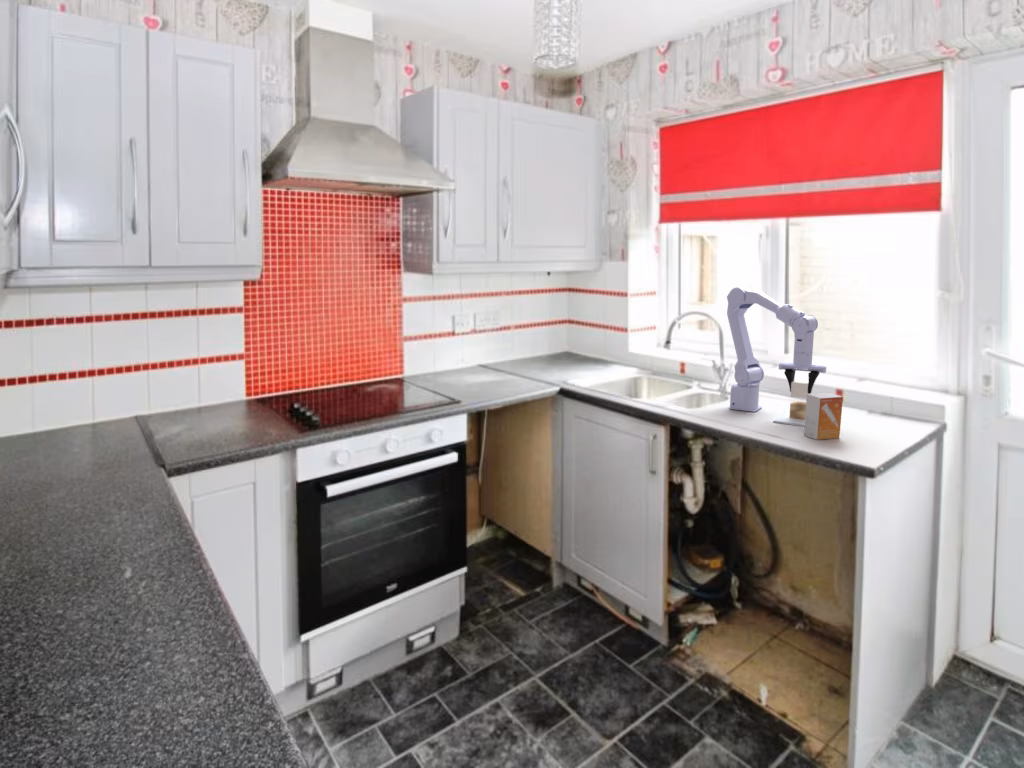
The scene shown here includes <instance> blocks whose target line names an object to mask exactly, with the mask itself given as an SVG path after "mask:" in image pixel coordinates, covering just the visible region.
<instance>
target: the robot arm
mask: <svg viewBox="0 0 1024 768" xmlns="http://www.w3.org/2000/svg"><path fill="white" fill-rule="evenodd" d="M726 298H727V299H726V300H727V310H726V315H727V319H728V324H729V328H730V333H731V336H732V337H731V338H732V341H733V345H734V350H735V353H736V359H737V361H736V362H735V365H734V375H733V376H734V380H735V382H736V383H733V384H732V385H731V388H730V392H729V393H730V395H729V398H730V399H729V408H728V409H730V410H737V411H745V412H754V413H756V412H757V411H759V410H761V409H762V408H763V407H762V406H761V405H759V399H760V398H759V397H760V384H761V382H762V380H763V379H764V377H765V371H764V369H763V368H762V366H761V364H760V361H759V360H758V359H757V358H755V357H754V356H755V355H754V352H753V349H752V344H751V339H750V335H749V332H748V331H749V330H748V327H747V324H746V323H747V322H746V319H745V313H746V312H747V311H748V309H749V308H751V307H752V306H753V305H755V304H756V305H758V306H760V307H762V308H765V309H767V310H768V311H770V312H772V313H774V314H775V318H776V320H779V321H780V322H782V323H784V324H785V325H787V326H788V327H790V328H791V329H792V331H793V333H794V334H793V335H794V344H793V345H794V346H793V360H792V363H789V362H788V363H786V362H785V363H783V362H780V363H778V370H781V371H782V370H783V371H784V375H785V377H786V379H787V382H788V386H789V392H790V393H791V382H793V381H794V380H795V376H796V372H797V371H798V372H808V381H809V385H808V393H809V394H812V391H813V387H814V385H815V382H816V381H817V379H818V377H819V375H820V373H822V374H825V373H827V366H825V365H816V364H813V353H814V352H813V349H814V339H815V338H814V336H815V335H814V334H815V331H816V330H817V329H818V325H819V323H818V320H817V318H816V317H815V316H813V315H811V314H808V315H807V314H806V313H805V312H804V311H800V310H798V309H796V308H795V307H794V305H793V304H791V303H790V304H787V303H785V304H781V303H779V302H777V301H776V300H775V299H773V298H772V297H771V296H768V295H767V294H766V293H764V292H763V291H762V290H761V289H759V288H757V287H755V286H746V287H745V286H743V287H733V288H732V289H731V290H730V291H729V293H728V295H726Z"/></svg>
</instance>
